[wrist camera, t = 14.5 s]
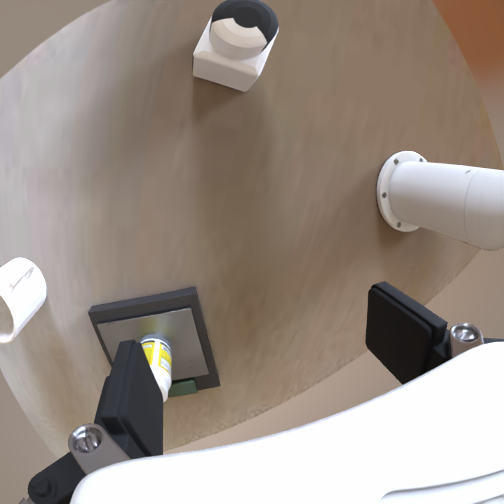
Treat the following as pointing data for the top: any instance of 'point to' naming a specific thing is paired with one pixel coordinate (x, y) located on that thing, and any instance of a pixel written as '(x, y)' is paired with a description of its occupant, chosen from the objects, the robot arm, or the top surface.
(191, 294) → the scale
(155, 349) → the supplement bottle
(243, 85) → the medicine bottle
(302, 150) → the top surface
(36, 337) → the top surface
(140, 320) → the scale pan
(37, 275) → the mug
